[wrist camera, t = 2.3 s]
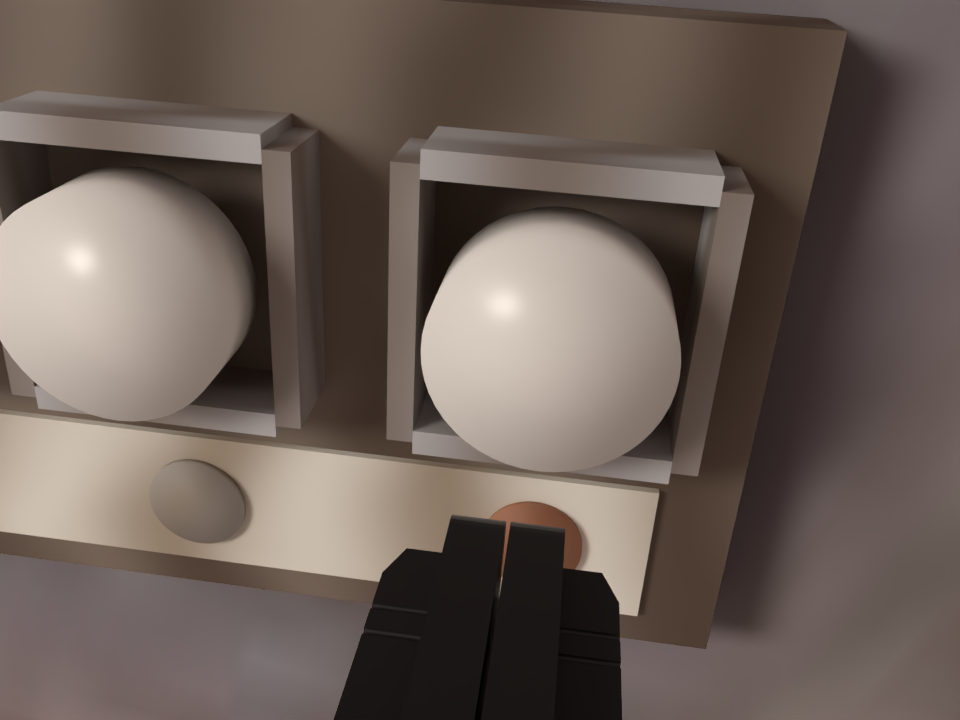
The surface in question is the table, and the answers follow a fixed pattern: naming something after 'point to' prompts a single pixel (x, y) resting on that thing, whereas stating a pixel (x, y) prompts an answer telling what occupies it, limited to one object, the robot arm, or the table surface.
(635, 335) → the button
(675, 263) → the button board
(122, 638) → the table surface
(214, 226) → the middle button
